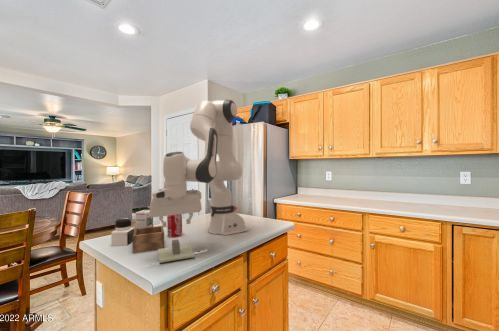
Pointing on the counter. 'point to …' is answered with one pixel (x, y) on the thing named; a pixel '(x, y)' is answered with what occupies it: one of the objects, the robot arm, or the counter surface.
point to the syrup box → (143, 219)
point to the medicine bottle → (122, 233)
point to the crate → (148, 239)
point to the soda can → (174, 225)
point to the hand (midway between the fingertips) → (176, 225)
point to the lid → (175, 252)
